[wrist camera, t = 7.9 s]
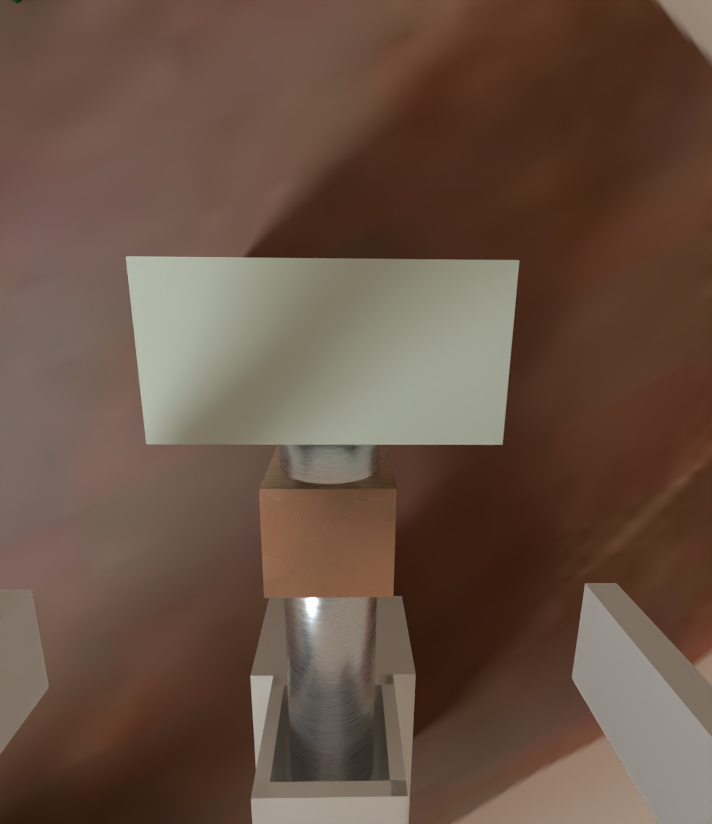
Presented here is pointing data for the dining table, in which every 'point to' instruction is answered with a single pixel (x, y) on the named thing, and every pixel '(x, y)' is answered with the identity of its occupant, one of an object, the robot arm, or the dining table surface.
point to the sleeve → (393, 733)
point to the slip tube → (329, 595)
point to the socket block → (323, 349)
